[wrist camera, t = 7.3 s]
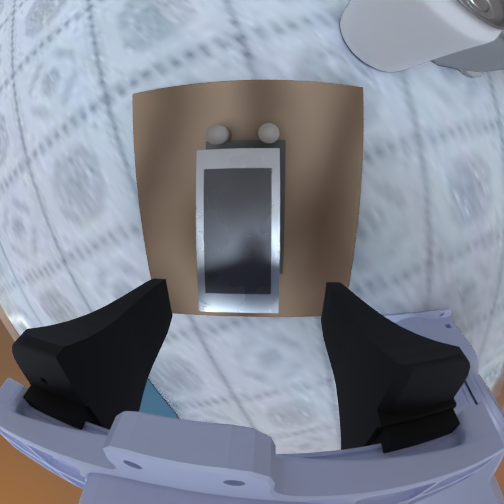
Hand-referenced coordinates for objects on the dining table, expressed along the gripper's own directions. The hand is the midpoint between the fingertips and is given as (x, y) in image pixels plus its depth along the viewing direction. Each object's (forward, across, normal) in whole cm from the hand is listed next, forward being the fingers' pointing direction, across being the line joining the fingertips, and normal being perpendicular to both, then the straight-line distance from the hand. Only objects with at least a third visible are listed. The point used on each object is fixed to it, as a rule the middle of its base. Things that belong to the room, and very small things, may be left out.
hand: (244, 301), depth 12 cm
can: (+10, -9, -16) cm, 21 cm away
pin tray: (+9, 0, -2) cm, 10 cm away
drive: (+7, 0, -1) cm, 7 cm away
